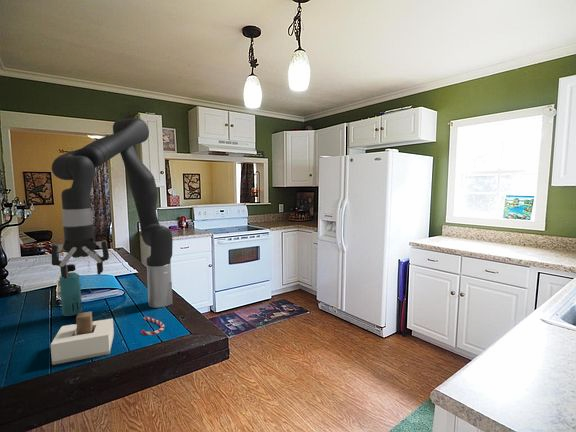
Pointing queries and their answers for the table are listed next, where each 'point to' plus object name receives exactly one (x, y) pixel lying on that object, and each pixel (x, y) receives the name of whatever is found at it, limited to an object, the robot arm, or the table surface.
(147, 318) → the candy cane
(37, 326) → the table surface
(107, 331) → the socket block
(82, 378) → the table surface
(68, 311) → the beverage bottle
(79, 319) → the peg
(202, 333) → the table surface
